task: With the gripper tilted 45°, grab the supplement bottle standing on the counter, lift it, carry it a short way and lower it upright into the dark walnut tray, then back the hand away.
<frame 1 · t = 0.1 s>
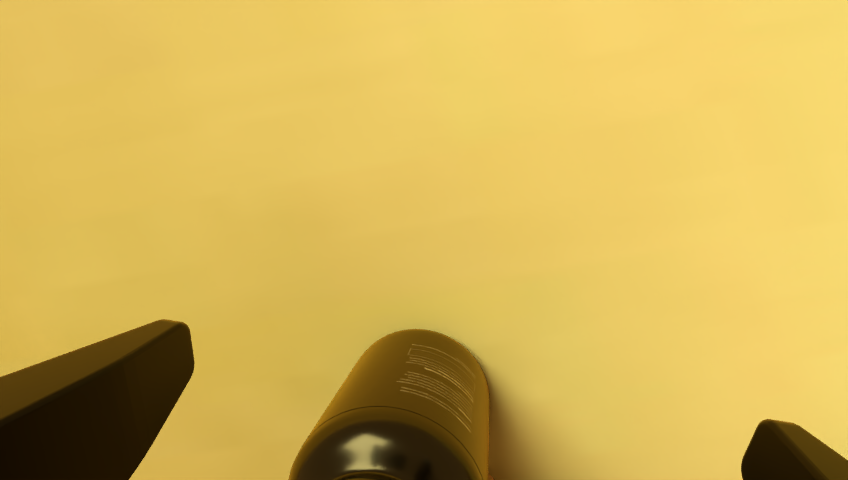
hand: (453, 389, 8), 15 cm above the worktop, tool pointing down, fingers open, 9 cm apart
supplement bottle: (421, 390, 25), on the worktop
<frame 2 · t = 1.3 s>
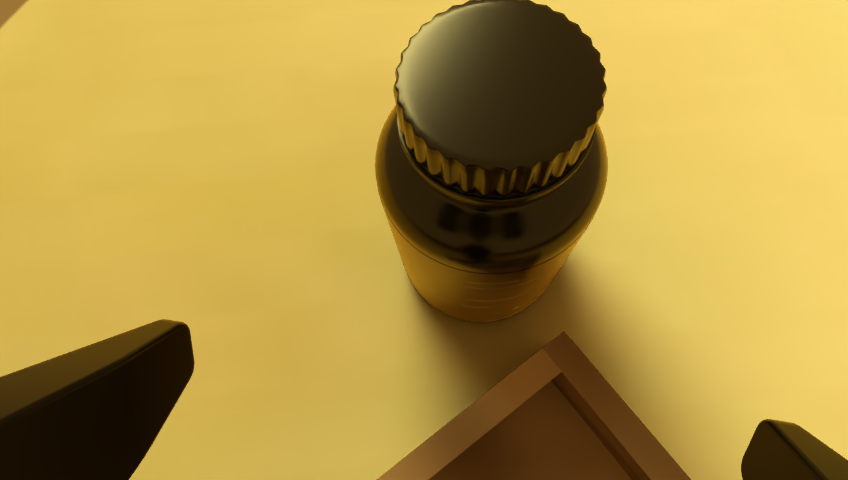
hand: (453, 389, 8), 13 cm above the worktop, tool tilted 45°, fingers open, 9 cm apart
supplement bottle: (478, 252, 23), on the worktop
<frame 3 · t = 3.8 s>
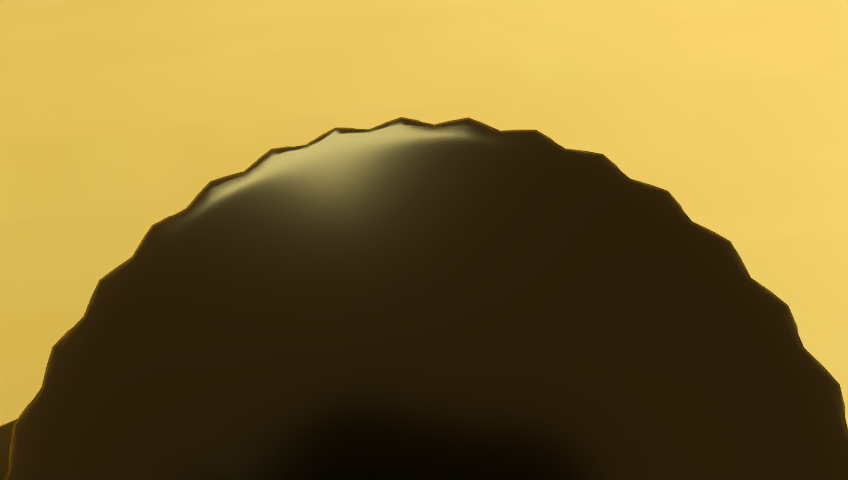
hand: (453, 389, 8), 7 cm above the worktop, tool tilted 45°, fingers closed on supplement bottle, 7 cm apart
supplement bottle: (449, 442, 14), on the worktop, touching gripper
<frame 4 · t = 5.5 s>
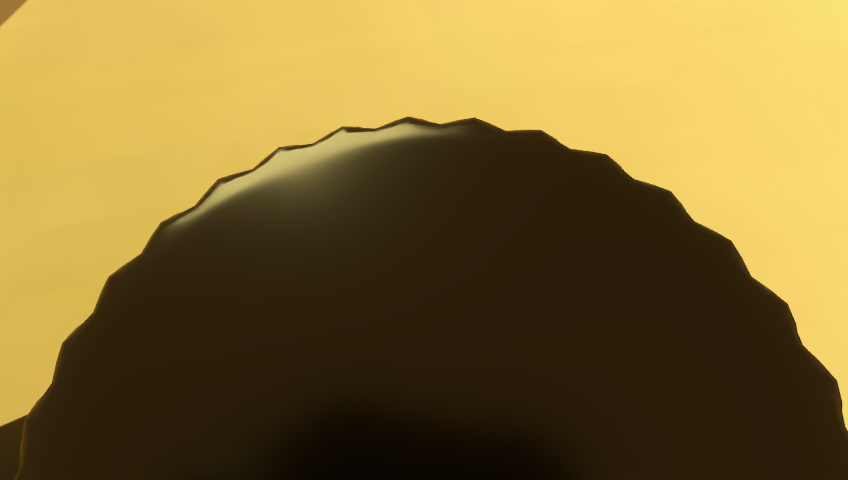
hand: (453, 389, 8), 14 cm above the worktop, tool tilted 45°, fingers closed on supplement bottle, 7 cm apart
supplement bottle: (445, 439, 14), point 7 cm above the worktop, touching gripper
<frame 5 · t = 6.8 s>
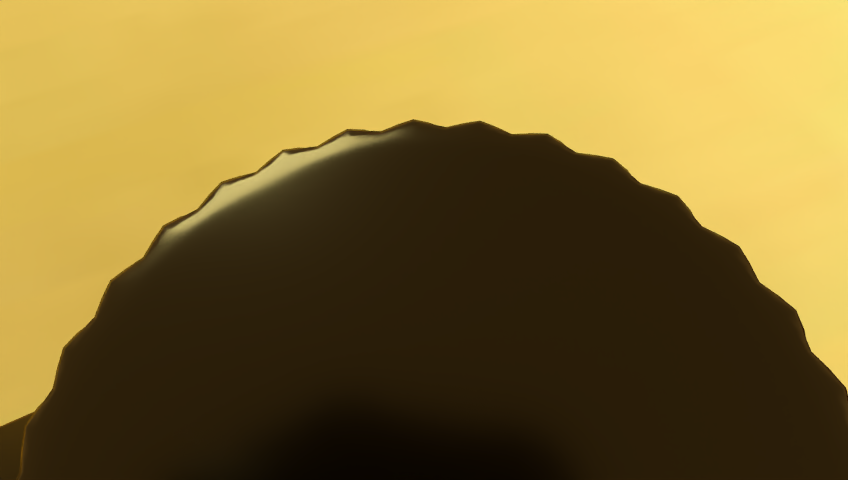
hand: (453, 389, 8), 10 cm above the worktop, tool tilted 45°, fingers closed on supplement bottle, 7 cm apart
supplement bottle: (444, 440, 14), point 3 cm above the worktop, touching gripper
when the fingers open (8 cm above the worktop, at t = 7.7 s): supplement bottle stays where it is, resting on walnut tray.
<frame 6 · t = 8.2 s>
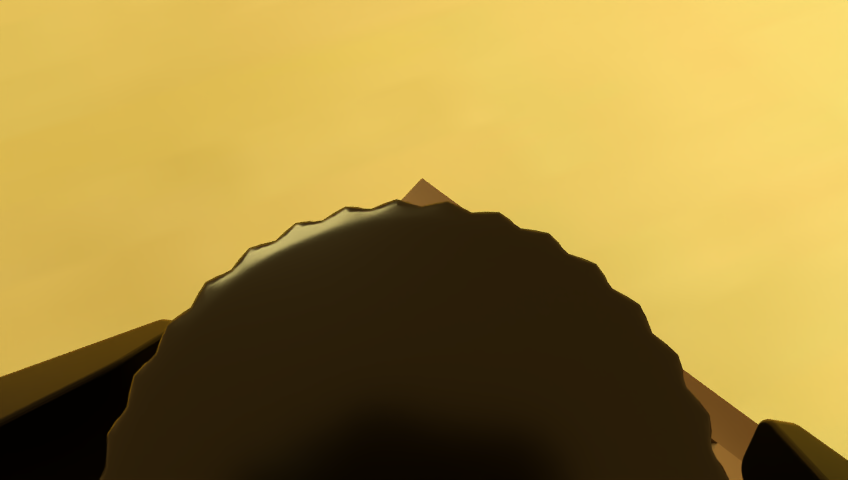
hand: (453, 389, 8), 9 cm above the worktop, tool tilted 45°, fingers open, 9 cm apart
walnut tray: (448, 459, 15), on the worktop
supplement bottle: (443, 443, 15), point 1 cm above the worktop, touching walnut tray
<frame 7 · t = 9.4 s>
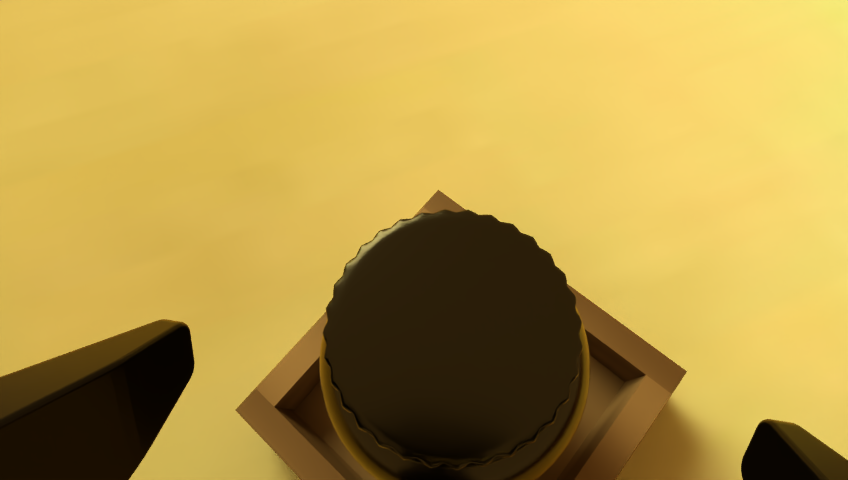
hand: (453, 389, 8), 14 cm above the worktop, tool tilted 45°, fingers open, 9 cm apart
walnut tray: (458, 397, 21), on the worktop
supplement bottle: (454, 385, 20), point 1 cm above the worktop, touching walnut tray
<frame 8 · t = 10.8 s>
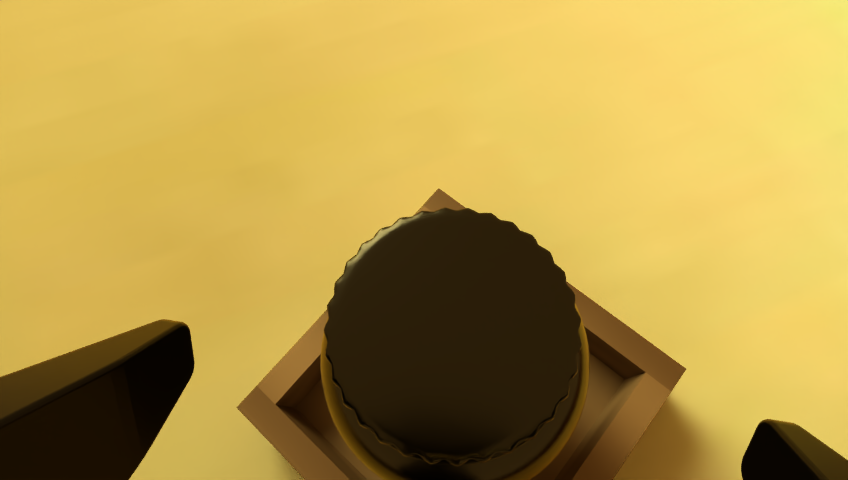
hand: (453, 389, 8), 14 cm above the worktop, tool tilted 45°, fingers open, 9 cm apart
walnut tray: (458, 395, 21), on the worktop
supplement bottle: (454, 382, 20), point 1 cm above the worktop, touching walnut tray
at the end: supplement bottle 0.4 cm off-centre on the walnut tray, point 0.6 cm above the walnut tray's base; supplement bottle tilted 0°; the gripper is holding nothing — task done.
